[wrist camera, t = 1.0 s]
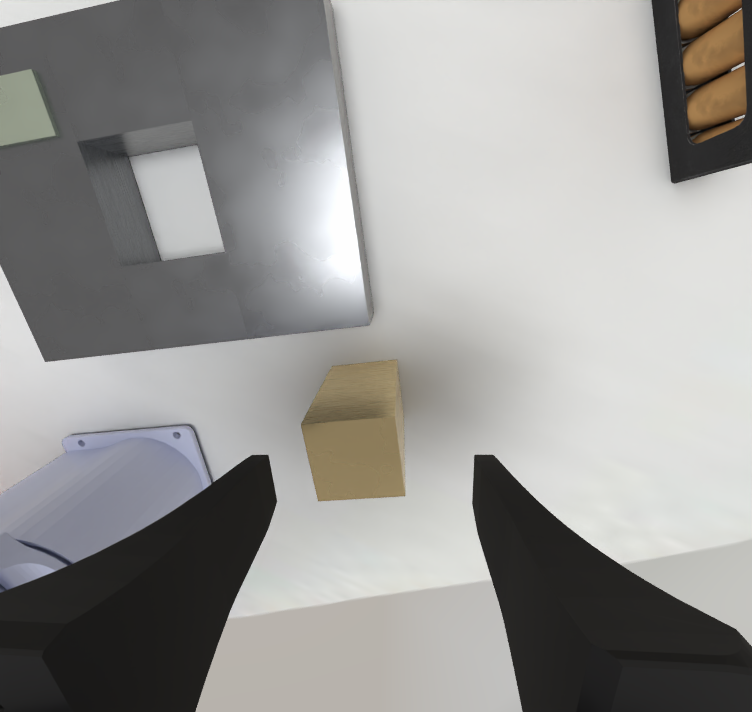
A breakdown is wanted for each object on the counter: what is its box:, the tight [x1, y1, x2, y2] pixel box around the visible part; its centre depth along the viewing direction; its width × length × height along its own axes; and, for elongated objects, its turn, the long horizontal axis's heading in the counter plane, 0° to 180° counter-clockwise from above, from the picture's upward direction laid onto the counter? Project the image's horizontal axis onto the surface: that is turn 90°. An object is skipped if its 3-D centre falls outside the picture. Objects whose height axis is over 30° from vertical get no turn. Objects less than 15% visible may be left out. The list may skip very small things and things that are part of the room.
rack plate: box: [0, 0, 374, 362], centre depth 17 cm, size 18×14×3 cm
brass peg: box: [301, 360, 405, 501], centre depth 18 cm, size 4×4×7 cm
